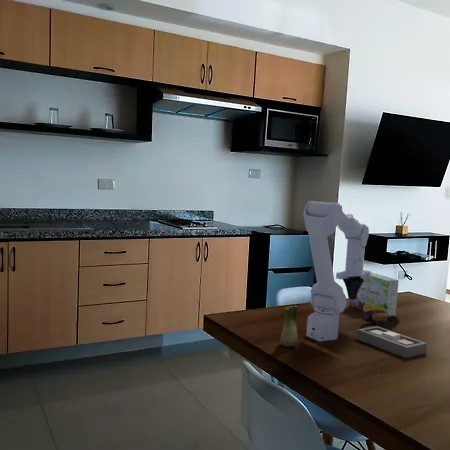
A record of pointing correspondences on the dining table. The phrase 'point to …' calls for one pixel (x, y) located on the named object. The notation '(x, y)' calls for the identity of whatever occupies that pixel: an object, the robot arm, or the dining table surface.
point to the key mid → (391, 336)
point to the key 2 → (404, 342)
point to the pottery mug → (381, 319)
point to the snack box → (377, 294)
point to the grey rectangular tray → (392, 343)
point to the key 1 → (376, 332)
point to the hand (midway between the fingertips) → (351, 298)
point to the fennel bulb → (289, 327)
